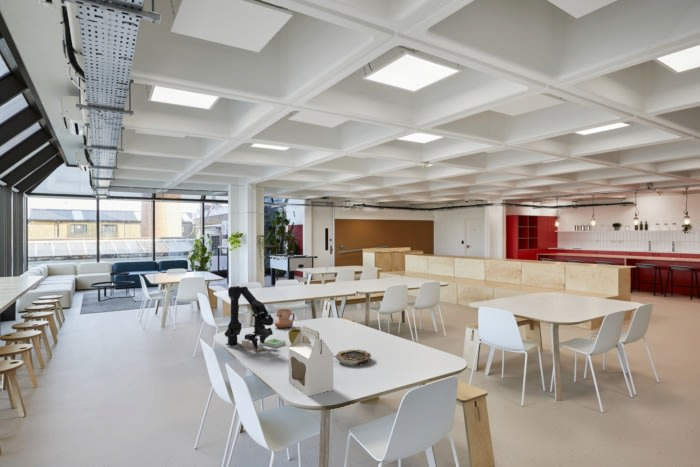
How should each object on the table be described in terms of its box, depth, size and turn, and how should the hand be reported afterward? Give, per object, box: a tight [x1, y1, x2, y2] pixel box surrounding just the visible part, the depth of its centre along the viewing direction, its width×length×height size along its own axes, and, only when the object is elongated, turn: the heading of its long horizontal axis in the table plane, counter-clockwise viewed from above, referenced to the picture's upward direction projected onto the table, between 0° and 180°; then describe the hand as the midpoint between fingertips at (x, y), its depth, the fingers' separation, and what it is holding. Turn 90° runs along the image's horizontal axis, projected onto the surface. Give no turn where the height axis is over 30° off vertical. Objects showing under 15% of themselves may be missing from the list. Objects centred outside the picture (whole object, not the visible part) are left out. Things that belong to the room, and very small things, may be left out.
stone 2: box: [255, 341, 264, 351], centre depth 252 cm, size 4×4×4 cm
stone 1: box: [241, 339, 251, 348], centre depth 260 cm, size 4×4×4 cm
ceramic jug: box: [273, 308, 295, 329], centre depth 317 cm, size 18×14×14 cm
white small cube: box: [248, 340, 255, 349], centre depth 256 cm, size 4×4×4 cm
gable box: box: [288, 325, 334, 397], centre depth 191 cm, size 22×13×28 cm, turn 34°
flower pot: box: [288, 328, 301, 345], centre depth 268 cm, size 9×9×9 cm
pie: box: [333, 349, 372, 367], centre depth 230 cm, size 28×27×5 cm
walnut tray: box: [237, 344, 268, 353], centre depth 256 cm, size 20×8×1 cm, turn 53°
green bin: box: [263, 338, 286, 349], centre depth 264 cm, size 12×10×3 cm
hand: (258, 348), depth 252 cm, fingers closed on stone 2, 4 cm apart
